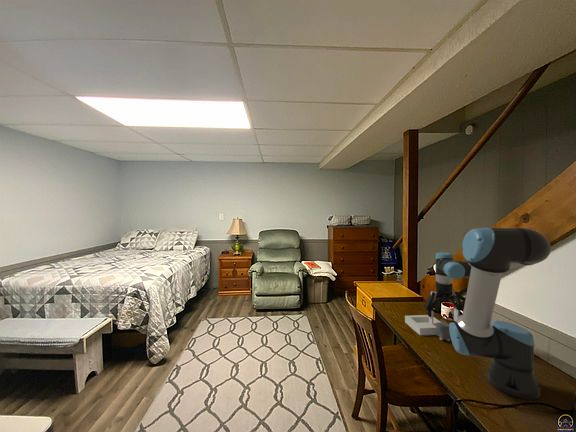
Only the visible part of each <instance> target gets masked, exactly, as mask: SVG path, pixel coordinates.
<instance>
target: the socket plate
mask: <svg viewBox="0 0 576 432" xmlns="http://www.w3.org/2000/svg"><path fill="white" fill-rule="evenodd" d="M404 322H405V324H406V325H408V326H409V327H410V328H411V329H412V330H413V331H414V332H416V334H418V335H419V336H437V335H436V323H438V322H441V321H440V320H439V319H437V318H436V317H435V316H433V324H432V323H430V322H429V316H428V314H416V315H415V314H414V315H404Z"/></svg>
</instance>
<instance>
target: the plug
mask: <svg viewBox="0 0 576 432" xmlns="http://www.w3.org/2000/svg"><path fill="white" fill-rule="evenodd" d="M449 324H450V323H447V322H445V321H444V322H443V321H440V322H438V323H436V335H435V336H437V337H439V340H440V341H444V340H445V341H447V342H450V341H451V337H450V332H449Z"/></svg>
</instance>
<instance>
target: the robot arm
mask: <svg viewBox="0 0 576 432" xmlns="http://www.w3.org/2000/svg"><path fill="white" fill-rule="evenodd" d="M461 247H462V256H463V257H464V259H465V260H466V261H465V260H454V257H453V254H452V253H451V252H443V251H440V252H439V251H438V252H436V253H435V259H434V260H435V291H432V290H430V291H429V295H428V298H427V299H426V302H425V303H424V306H423V309H424V310H426V311H427V315H428V316H429V322H430V323H432V324H433V317H434V309H435V308H436V306H437V305H438V304H439V303H440V302H441V301H449V302H450V303H451V304H452V306H453V307H454V308H453V322H450V323H448V324H449V332H450V337H451V339H450V341H451V343H452V345H453V348H454V350H455V351H456V353H458V354H460V355H462V356H463V355H464V356H468V357H476V358H477V357H478V358H485V359H486V358H490V359H492V361H491V363H490V366H489V368H488V370H487V380H488V382H489V383H490V385H492V386H493V387H495V388H496V389H498V390H500V391H501V392H503V393H505V394H507V395H509V396H512V397H515V398H517V399H518V398H519V399H523V400H527V401H528V400H529V401H530V400H532V401H533V400H537V399H539V398H540V397H541V387H540V385H539V383H538V380H537V378H536V375H535V372H534V371H535V370H534V369H535V368H534V367H535V366H534V365H535V364H534V363H535V361H534V356H535V355H534V354H535V352H534V351H535V346H536V345H535V342H534V341H535V340H534V336H533V334H532V333H531V332H530V331H529V330H528V329H526V328H524V327H522V326H520V325H517V324H515V323H512V322H508V321H504V320H494V321H493V322H492V317H493V315H494V309H495V306H496V301H497V296H498V293H499V292H498V291H499V288H500V284H501V280H502V275H503V274H506V273H508V272H509V270H511V269H515V268H517V267H520V266H533V265H536V264H539V263H542V262H543V261H545V260H546V259H547V258H548V257H549V256H550V254H551V251H552V250H551V249H552V247H551V244H550V241H549V240H548V239H547V237H546V236H545V235H543V234H542V233H540V232H539V231H537V230H535V229H532V228H525V227H479V228H472V229H470V230H469V231H468V232H467V233H466V234H465V235H464V237H463V240H462V245H461ZM462 278H468V283H467V284H468V285H467V290H466V296H465V300H464V304H463V302H462V300H461V298H460V296H459V292H458V291H457V290H455V289H454V290H453V288H454V287H453V283H454V282H453V280H460V279H462ZM452 296H453V297H454V298H453V297H452ZM461 311H463V312H462V314H461ZM454 321H455V322H454ZM491 322H492V324H491Z"/></svg>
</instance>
